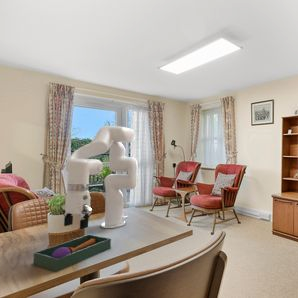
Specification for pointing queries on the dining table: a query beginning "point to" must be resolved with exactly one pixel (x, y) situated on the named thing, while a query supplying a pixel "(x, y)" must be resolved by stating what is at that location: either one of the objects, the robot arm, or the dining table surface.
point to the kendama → (71, 249)
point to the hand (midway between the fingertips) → (75, 226)
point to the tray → (49, 262)
